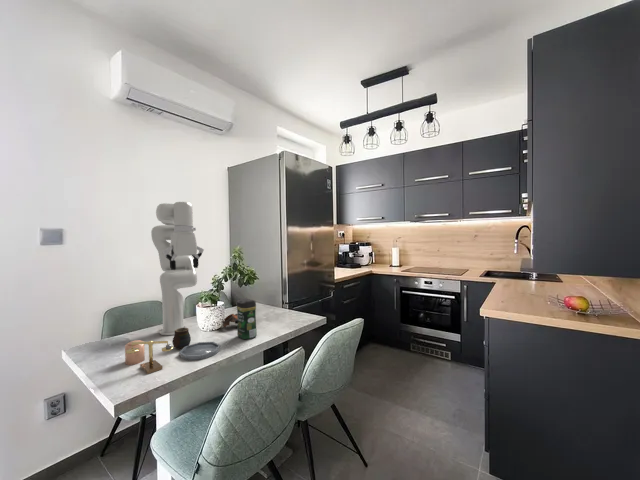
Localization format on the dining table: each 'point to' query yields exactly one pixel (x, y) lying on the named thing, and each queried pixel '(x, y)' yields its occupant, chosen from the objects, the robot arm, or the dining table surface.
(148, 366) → the balance
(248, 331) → the coffee jar
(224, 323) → the pottery mug
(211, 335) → the dining table surface
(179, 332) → the mate gourd
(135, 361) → the terracotta cup
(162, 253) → the robot arm
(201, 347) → the dish
